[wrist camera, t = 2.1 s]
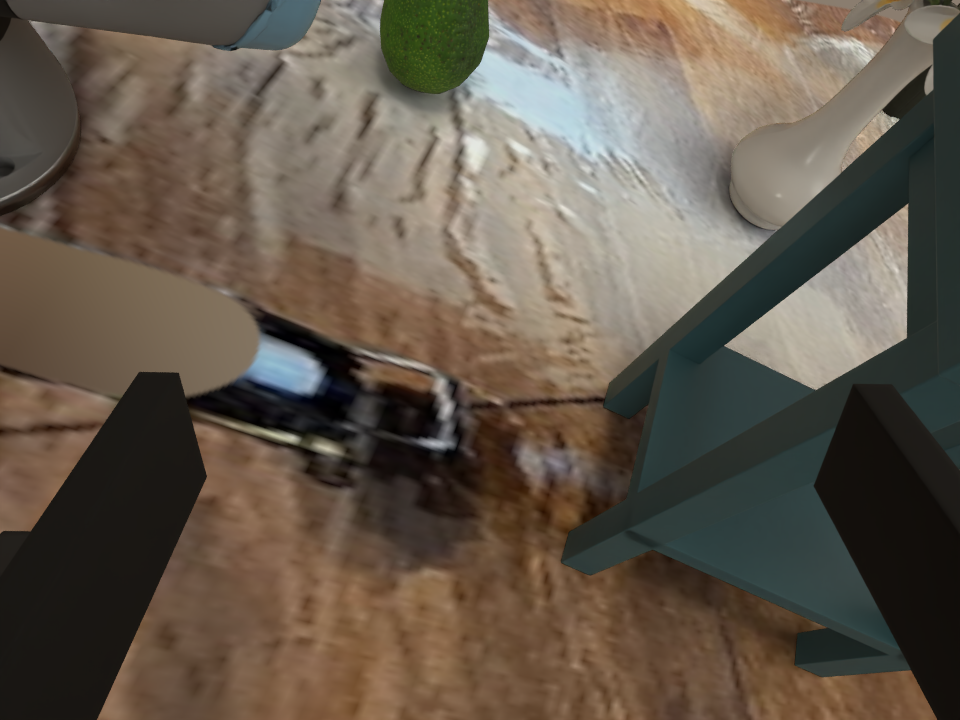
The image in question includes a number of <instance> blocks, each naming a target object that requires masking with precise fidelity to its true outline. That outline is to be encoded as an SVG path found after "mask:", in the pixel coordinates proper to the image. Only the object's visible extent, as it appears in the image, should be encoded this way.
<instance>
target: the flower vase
mask: <svg viewBox="0 0 960 720" xmlns="http://www.w3.org/2000/svg"><path fill="white" fill-rule="evenodd" d="M951 1H952V0H862V1H861V2H859V3H858V4H857V5H856V6H855V7H854V8H853V9H852V10H851V12H850V13H849V14H848V15H847V17H846V19H845V20H844V22H843V24H842V30H843V31H849V30H851V29H853V28H855V27H857V26H859V25H860V24H862V23H863V22H865V21H866V20H868V19H870V18H871V17H873V16H874V15H876V14H878V13H879V12H881V11H883V10H885V9H887V8H889V7H892V9H894V10H903V9H905V8H907V7H909V10H908V13H907V14H906V16H905V18H904V19H903V21H902V22H901V23H900V25H899V26H898V28H897V29H896V30H895V32H894V33H893V35H892V36H891V37H890V39H889V40H888V41H887V43H886V44H885V45H884V46H883V47H882V49H881V50H880V51H879V52H878V53H877V54H876V56H875V57H874V58H873V59H872V60H871V61H870V62H869V63H868V64H867V65H866V66H865V67H864V68H863V69H862V70H861V71H860V72H859V73H858V74H857V75H856V76H855V77H854V78H853V79H852V80H851V81H850V82H849V83H848V84H847V85H846V86H845V87H844V88H843V89H841V90H840V91H839V92H838V93H837V94H836V95H835V96H834V97H833V98H832V99H831V100H830V101H829V102H827V103H826V104H825V105H824V106H823V107H821V108H820V109H819V110H817V111H816V112H815V113H813V114H811V115H809V116H807V117H805V118H803V119H801V120H799V121H796V122H793V123H775V124H770V125H765V126H762V127H759V128H757V129H756V130H754V131H752V132H751V133H749V134H748V135H746V136H745V137H743V138H742V139H741V140H740V142H739V143H738V145H737V146H736V148H735V149H734V151H733V155H732V160H731V165H730V170H731V178H732V179H731V181H730V186H729V193H730V197H731V200H732V202H733V205H734V206H735V208H736V209H737V211H738V212H739V213H740V214H741V215H742V216H743V217H744V218H745V219H746V220H748V221H749V222H750V223H752V224H754V225H756V226H758V227H760V228H763V229H767V230H778V229H780V228H781V227H782V226H783V225H784V224H785V223H786V222H788V221H789V220H790V219H791V218H792V217H793V216H794V215H795V214H796V213H797V212H799V211H800V210H801V209H802V208H803V207H804V206H805V205H806V204H807V203H809V202H810V201H811V200H812V199H813V198H814V197H815V196H816V195H817V194H818V193H820V192H821V191H822V190H823V189H824V188H825V187H826V186H827V185H828V184H829V183H831V182H832V181H833V180H834V179H835V178H836V177H837V176H838V175H839V174H840V173H842V163H843V160H844V158H845V155H846V153H847V151H848V149H849V147H850V146H851V144H852V143H853V141H854V140H855V139H856V137H857V136H858V135H859V134H860V133H861V131H862V130H863V129H864V128H865V127H866V126H867V125H868V124H869V123H870V122H871V121H872V120H873V118H874V117H875V116H876V115H877V114H878V113H879V112H880V111H881V110H882V109H883V108H884V107H885V106H886V105H887V104H888V103H889V102H890V101H891V100H892V99H893V98H894V97H895V96H896V95H897V94H898V93H899V92H900V91H901V90H902V89H903V88H904V87H905V86H906V85H907V84H909V83H910V82H911V81H912V80H913V79H914V78H915V77H917V76H918V75H919V74H920V73H922V72H923V71H924V70H925V69H927V68H928V67H930V66H931V65H932V66H931V68H930V70H929V72H928V74H927V76H926V80H925V86H924V90H925V94H926V95H928V94H929V93H930V92H931V91H932V90H933V39H934V38H935V37H936V36H937V35H938V34H939V33H940V32H941V31H942V30H943V29H944V28H945V27H946V26H947V25H948V24H949V23H950V22H951V21H952V20H953V19H954V18H955V17H956V16H957V15H958V14H959V13H960V5H959V7H957V6H956V5H955V4H954V3H952V2H951Z"/></svg>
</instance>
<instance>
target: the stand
mask: <svg viewBox="0 0 960 720" xmlns="http://www.w3.org/2000/svg"><path fill="white" fill-rule="evenodd" d="M908 203H909V204H908ZM907 204H908V287H907V338H906V339H904V340H903V341H901V342H899V343H897V344H896V345H894V346H892V347H890V348H889V349H887V350H885V351H883V352H882V353H880V354H878V355H876V356H875V357H873V358H871V359H870V360H868V361H866V362H864V363H863V364H861V365H859V366H857V367H856V368H854V369H852V370H850V371H849V372H847V373H845V374H843V375H842V376H840V377H838V378H836V379H835V380H833V381H831V382H829V383H828V384H826V385H824V386H822V387H821V388H819V389H817V390H814V389H812V388H810V387H807V386H805V385H803V384H801V383H799V382H797V381H795V380H793V379H791V378H789V377H787V376H785V375H783V374H781V373H779V372H776V371H774V370H772V369H770V368H768V367H766V366H764V365H762V364H760V363H758V362H756V361H754V360H752V359H750V358H747V357H745V356H743V355H741V354H739V353H737V352H735V351H733V350H731V349H729V348H727V347H725V346H724V345H725V344H727V343H728V342H729V341H731V340H732V339H733V338H735V337H736V336H737V335H738V334H740V333H741V332H742V331H744V330H745V329H746V328H747V327H749V326H750V325H751V324H753V323H754V322H755V321H757V320H758V319H759V318H760V317H762V316H763V315H764V314H766V313H767V312H768V311H769V310H771V309H772V308H773V307H775V306H776V305H777V304H779V303H780V302H781V301H782V300H784V299H785V298H786V297H788V296H789V295H790V294H791V293H793V292H794V291H795V290H797V289H798V288H799V287H801V286H802V285H803V284H804V283H806V282H807V281H808V280H810V279H811V278H812V277H814V276H815V275H816V274H817V273H819V272H820V271H821V270H823V269H824V268H825V267H826V266H828V265H829V264H830V263H832V262H833V261H834V260H836V259H837V258H838V257H839V256H841V255H842V254H843V253H845V252H846V251H847V250H848V249H850V248H851V247H852V246H854V245H855V244H856V243H858V242H859V241H860V240H861V239H863V238H864V237H865V236H867V235H868V234H869V233H871V232H872V231H873V230H874V229H876V228H877V227H878V226H880V225H881V224H882V223H883V222H885V221H886V220H887V219H889V218H890V217H891V216H893V215H894V214H895V213H896V212H898V211H899V210H900V209H902V208H903V207H904V206H905V205H907ZM853 384H892V385H893V386H894V387H895V389H896V390H897V391H898V392H899V394H900V395H901V396H902V397H903V399H904V400H905V401H906V403H907V404H908V405H909V406H910V408H911V409H912V410H913V411H914V413H915V414H916V415H917V417H918V418H919V419H920V420H921V422H922V423H923V424H924V425H925V427H926V428H927V429H928V431H929V432H930V433H931V434H932V436H933V437H934V438H935V439H936V441H937V442H938V443H939V445H940V446H941V447H942V448H943V450H944V451H945V452H946V453H947V455H948V456H949V457H950V459H951V460H952V461H953V462H954V464H955V465H956V466H957V467H958V469H959V470H960V13H959V14H958V15H957V16H956V17H955V18H954V19H953V20H952V21H951V22H950V23H949V24H948V25H947V26H946V27H945V28H944V29H943V30H942V31H941V32H940V33H939V34H938V35H937V36H936V37H935V38H934V39H933V90H932V91H931V92H930V93H929V94H928V95H926V96H925V97H924V98H923V99H922V100H921V101H920V102H919V103H918V104H917V105H915V106H914V107H913V108H912V109H911V110H910V111H909V112H908V113H907V114H906V115H904V116H903V117H902V118H901V119H900V120H899V121H898V122H897V123H896V124H894V125H893V126H892V127H891V128H890V129H889V130H888V131H887V132H886V133H885V134H883V135H882V136H881V137H880V138H879V139H878V140H877V141H876V142H875V143H874V144H872V145H871V146H870V147H869V148H868V149H867V150H866V151H865V152H864V153H863V154H861V155H860V156H859V157H858V158H857V159H856V160H855V161H854V162H853V163H852V164H850V165H849V166H848V167H847V168H846V169H845V170H844V171H843V172H842V173H840V174H839V175H838V176H837V177H836V178H835V179H834V180H833V181H832V182H831V183H829V184H828V185H827V186H826V187H825V188H824V189H823V190H822V191H821V192H820V193H818V194H817V195H816V196H815V197H814V198H813V199H812V200H811V201H810V202H809V203H807V204H806V205H805V206H804V207H803V208H802V209H801V210H800V211H799V212H797V213H796V214H795V215H794V216H793V217H792V218H791V219H790V220H789V221H788V222H786V223H785V224H784V225H783V226H782V227H781V228H780V229H779V230H778V231H777V232H775V233H774V234H773V235H772V236H771V237H770V238H769V239H768V240H767V241H766V242H764V243H763V244H762V245H761V246H760V247H759V248H758V249H757V250H756V251H754V252H753V253H752V254H751V255H750V256H749V257H748V258H747V259H746V260H745V261H743V262H742V263H741V264H740V265H739V266H738V267H737V268H736V269H735V270H734V271H732V272H731V273H730V274H729V275H728V276H727V277H726V278H725V279H724V280H723V281H721V282H720V283H719V284H718V285H717V286H716V287H715V288H714V289H713V290H712V291H710V292H709V293H708V294H707V295H706V296H705V297H704V298H703V299H702V300H700V301H699V302H698V303H697V304H696V305H695V306H694V307H693V308H692V309H691V310H689V311H688V312H687V313H686V314H685V315H684V316H683V317H682V318H681V319H680V320H678V321H677V322H676V323H675V324H674V325H673V326H672V327H671V328H669V329H668V330H667V331H666V332H665V333H664V334H663V335H662V336H661V337H660V338H659V339H657V340H656V341H655V342H654V343H653V344H652V345H651V346H650V347H649V348H648V349H646V350H645V351H644V352H643V353H642V354H641V355H640V356H639V357H638V358H637V359H635V360H634V361H633V362H632V363H631V364H630V365H629V366H628V367H627V368H626V369H624V370H623V371H622V372H621V373H620V374H619V375H618V376H617V377H616V378H614V379H613V380H612V381H611V382H610V383H609V387H608V390H607V394H606V398H605V402H604V405H603V407H604V408H607V409H609V410H611V411H613V412H615V413H617V414H620V415H622V416H624V417H626V418H628V419H630V418H631V417H632V416H633V415H635V414H636V413H637V412H639V411H640V410H641V409H643V408H644V407H645V406H646V405H648V409H647V413H646V417H645V422H644V426H643V430H642V434H641V439H640V443H639V447H638V452H637V456H636V460H635V464H634V469H633V473H632V477H631V482H630V486H629V490H628V494H627V499H626V500H624V501H622V502H620V503H619V504H617V505H615V506H613V507H612V508H610V509H608V510H606V511H605V512H603V513H601V514H600V515H598V516H596V517H594V518H593V519H591V520H589V521H587V522H586V523H584V524H582V525H580V526H579V527H577V528H575V529H573V530H572V531H570V532H569V534H568V538H567V541H566V545H565V549H564V552H563V556H562V560H561V563H563V564H565V565H567V566H570V567H572V568H574V569H576V570H579V571H581V572H583V573H586V574H588V575H593V574H595V573H598V572H600V571H602V570H605V569H607V568H610V567H612V566H614V565H617V564H619V563H622V562H624V561H626V560H629V559H631V558H633V557H636V556H638V555H641V554H643V553H645V552H648V551H650V550H655V551H657V552H659V553H662V554H664V555H666V556H668V557H671V558H673V559H675V560H677V561H680V562H682V563H684V564H686V565H688V566H691V567H693V568H695V569H697V570H700V571H702V572H704V573H706V574H709V575H711V576H713V577H715V578H718V579H720V580H722V581H724V582H727V583H729V584H731V585H733V586H736V587H738V588H740V589H742V590H745V591H747V592H749V593H751V594H753V595H756V596H758V597H760V598H762V599H765V600H767V601H769V602H771V603H774V604H776V605H778V606H780V607H783V608H785V609H787V610H789V611H792V612H794V613H796V614H798V615H801V616H803V617H805V618H807V619H810V620H812V621H814V622H816V623H818V624H821V625H823V626H825V627H827V628H825V629H819V630H813V631H807V632H801V633H798V634H797V645H796V656H795V666H798V667H800V668H802V669H805V670H807V671H809V672H811V673H814V674H816V675H818V676H821V677H832V676H844V675H856V674H868V673H880V672H893V671H905V670H911V669H910V667H909V665H908V663H907V661H906V659H905V658H904V656H903V654H902V652H901V650H900V648H899V646H898V644H897V642H896V641H895V639H894V637H893V635H892V633H891V631H890V629H889V627H888V625H887V624H886V622H885V620H884V618H883V616H882V614H881V612H880V610H879V609H878V607H877V605H876V603H875V601H874V599H873V597H872V595H871V593H870V592H869V590H868V588H867V586H866V584H865V582H864V580H863V578H862V576H861V575H860V573H859V571H858V569H857V567H856V565H855V563H854V561H853V559H852V558H851V556H850V554H849V552H848V550H847V548H846V546H845V544H844V543H843V541H842V539H841V537H840V535H839V533H838V531H837V529H836V527H835V526H834V524H833V522H832V520H831V518H830V516H829V514H828V512H827V510H826V509H825V507H824V505H823V503H822V501H821V499H820V497H819V495H818V494H817V492H816V490H815V488H814V484H815V481H816V478H817V476H818V473H819V471H820V468H821V465H822V463H823V460H824V458H825V455H826V453H827V450H828V447H829V445H830V442H831V440H832V437H833V434H834V432H835V429H836V427H837V424H838V421H839V419H840V416H841V414H842V411H843V408H844V406H845V403H846V401H847V398H848V396H849V393H850V390H851V388H852V385H853Z"/></svg>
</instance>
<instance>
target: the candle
mask: <svg viewBox="0 0 960 720" xmlns="http://www.w3.org/2000/svg"><path fill="white" fill-rule="evenodd" d="M959 5H960V4H959ZM959 5H958V6H957V7H959ZM931 66H932V65H931ZM931 66H930V67H928V68H927V69H925V70H924V71H923V72H922V73H920V74H919V75H918V76H917V77H915V78H914V79H913V80H912V81H911V82H910V83H909V84H907V85H906V86H905V87H904V88H903V89H902V90H901V91H900V92H899V93H898V94H897V95H896V96H895V97H894V98H893V99H892V100H891V101H890V102H889V103H888V104H887V105H886V106H885V107H884V108H883V110H884V112H886V113H887V114H888V115H890V116H892V117H893V116H894V117H897V118H899V119H901V118H902V117H903V116H904V115H906V114H907V113H908V112H909V111H910V110H911V109H912V108H913V107H914V106H915V105H917V104H918V103H919V102H920V101H921V100H922V99H923V98H924V97H925V96H926V94H925V90H924V86H925V80H926V76H927V74H928V72H929V70H930V68H931Z"/></svg>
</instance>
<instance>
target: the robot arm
mask: <svg viewBox="0 0 960 720" xmlns="http://www.w3.org/2000/svg"><path fill="white" fill-rule="evenodd" d="M320 2H321V0H0V216H1V215H4V214H6V213H9V212H11V211H13V210H16V209H18V208H20V207H22V206H24V205H26V204H27V203H29V202H31V201H32V200H34V199H36V198H37V197H39V196H40V195H41V194H43V193H44V192H46V191H47V190H48V189H49V188H50V187H51V186H52V185H54V184H55V183H56V182H57V181H58V179H59V178H60V177H61V176H62V175H63V174H64V172H65V171H66V170H67V168H68V167H69V165H70V164H71V162H72V160H73V158H74V156H75V154H76V151H77V149H78V145H79V141H80V135H81V120H80V114H79V109H78V105H77V101H76V97H75V94H74V91H73V88H72V86H71V84H70V82H69V80H68V77H67V75H66V73H65V71H64V70H63V68H62V66H61V64H60V63H59V61H58V60H57V59H56V57H55V56H54V55H53V53H52V52H51V51H50V50H49V48H48V47H47V46H46V44H45V43H44V41H43V40H42V39H41V37H40V36H39V35H38V33H37V32H36V31H35V29H34V28H33V27H32V25H31V24H30V23H29V21H28V20H30V21H38V22H46V23H53V24H61V25H68V26H76V27H84V28H91V29H99V30H106V31H114V32H121V33H129V34H137V35H144V36H152V37H159V38H165V39H172V40H179V41H186V42H193V43H199V44H206V45H212V46H213V47H214V48H217V49H221V50H227V51H233V50H237V49H239V48H250V49H263V50H282V49H286V48H289V47H291V46H293V45H294V44H296V43H297V42H299V41H300V40H301V39H302V38H303V36H304V35H305V34H306V33H307V31H308V29H309V28H310V26H311V24H312V22H313V20H314V18H315V16H316V13H317V10H318V8H319V5H320ZM206 477H207V475H206V472H205V468H204V464H203V461H202V457H201V453H200V450H199V446H198V442H197V438H196V435H195V431H194V427H193V424H192V420H191V416H190V413H189V409H188V405H187V402H186V398H185V394H184V390H183V387H182V384H181V380H180V376H179V373H166V372H164V373H163V372H162V373H161V372H160V373H159V372H139V373H138V375H137V376H136V377H135V379H134V380H133V382H132V383H131V385H130V386H129V388H128V389H127V391H126V392H125V394H124V395H123V397H122V398H121V399H120V401H119V402H118V404H117V405H116V407H115V408H114V410H113V411H112V413H111V414H110V416H109V417H108V419H107V420H106V422H105V423H104V425H103V426H102V427H101V429H100V430H99V432H98V433H97V435H96V436H95V438H94V439H93V441H92V442H91V444H90V445H89V447H88V448H87V450H86V451H85V452H84V454H83V455H82V457H81V458H80V460H79V461H78V463H77V464H76V466H75V467H74V469H73V470H72V472H71V473H70V475H69V476H68V478H67V479H66V480H65V482H64V483H63V485H62V486H61V488H60V489H59V491H58V492H57V494H56V495H55V497H54V498H53V500H52V501H51V503H50V504H49V505H48V507H47V508H46V510H45V511H44V513H43V514H42V516H41V517H40V519H39V520H38V522H37V523H36V525H35V526H34V528H33V529H32V531H31V532H30V531H3V532H2V533H1V534H0V720H97V718H98V716H99V714H100V712H101V710H102V707H103V705H104V703H105V701H106V699H107V696H108V694H109V692H110V690H111V687H112V685H113V683H114V681H115V679H116V676H117V674H118V672H119V670H120V668H121V665H122V663H123V661H124V659H125V657H126V654H127V652H128V650H129V648H130V645H131V643H132V641H133V639H134V637H135V634H136V632H137V630H138V628H139V626H140V623H141V621H142V619H143V617H144V615H145V612H146V610H147V608H148V606H149V603H150V601H151V599H152V597H153V595H154V592H155V590H156V588H157V586H158V584H159V581H160V579H161V577H162V575H163V573H164V570H165V568H166V566H167V564H168V561H169V559H170V557H171V555H172V553H173V550H174V548H175V546H176V544H177V542H178V539H179V537H180V535H181V533H182V531H183V528H184V526H185V524H186V522H187V519H188V517H189V515H190V513H191V511H192V508H193V506H194V504H195V502H196V500H197V497H198V495H199V493H200V491H201V489H202V486H203V484H204V482H205V480H206ZM814 488H815V490H816V492H817V494H818V495H819V497H820V499H821V501H822V503H823V505H824V507H825V509H826V510H827V512H828V514H829V516H830V518H831V520H832V522H833V524H834V526H835V527H836V529H837V531H838V533H839V535H840V537H841V539H842V541H843V543H844V544H845V546H846V548H847V550H848V552H849V554H850V556H851V558H852V559H853V561H854V563H855V565H856V567H857V569H858V571H859V573H860V575H861V576H862V578H863V580H864V582H865V584H866V586H867V588H868V590H869V592H870V593H871V595H872V597H873V599H874V601H875V603H876V605H877V607H878V609H879V610H880V612H881V614H882V616H883V618H884V620H885V622H886V624H887V625H888V627H889V629H890V631H891V633H892V635H893V637H894V639H895V641H896V642H897V644H898V646H899V648H900V650H901V652H902V654H903V656H904V658H905V659H906V661H907V663H908V665H909V667H910V669H911V671H912V673H913V674H914V676H915V678H916V680H917V682H918V684H919V686H920V688H921V690H922V691H923V693H924V695H925V697H926V699H927V701H928V703H929V705H930V707H931V708H932V710H933V712H934V714H935V716H936V718H937V720H960V470H959V469H958V467H957V466H956V465H955V464H954V462H953V461H952V460H951V459H950V457H949V456H948V455H947V453H946V452H945V451H944V450H943V448H942V447H941V446H940V445H939V443H938V442H937V441H936V439H935V438H934V437H933V436H932V434H931V433H930V432H929V431H928V429H927V428H926V427H925V425H924V424H923V423H922V422H921V420H920V419H919V418H918V417H917V415H916V414H915V413H914V411H913V410H912V409H911V408H910V406H909V405H908V404H907V403H906V401H905V400H904V399H903V397H902V396H901V395H900V394H899V392H898V391H897V390H896V389H895V387H894V386H893V385H892V384H853V385H852V388H851V390H850V393H849V396H848V398H847V401H846V403H845V406H844V408H843V411H842V414H841V416H840V419H839V421H838V424H837V427H836V429H835V432H834V434H833V437H832V440H831V442H830V445H829V447H828V450H827V453H826V455H825V458H824V460H823V463H822V465H821V468H820V471H819V473H818V476H817V478H816V481H815V484H814Z"/></svg>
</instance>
